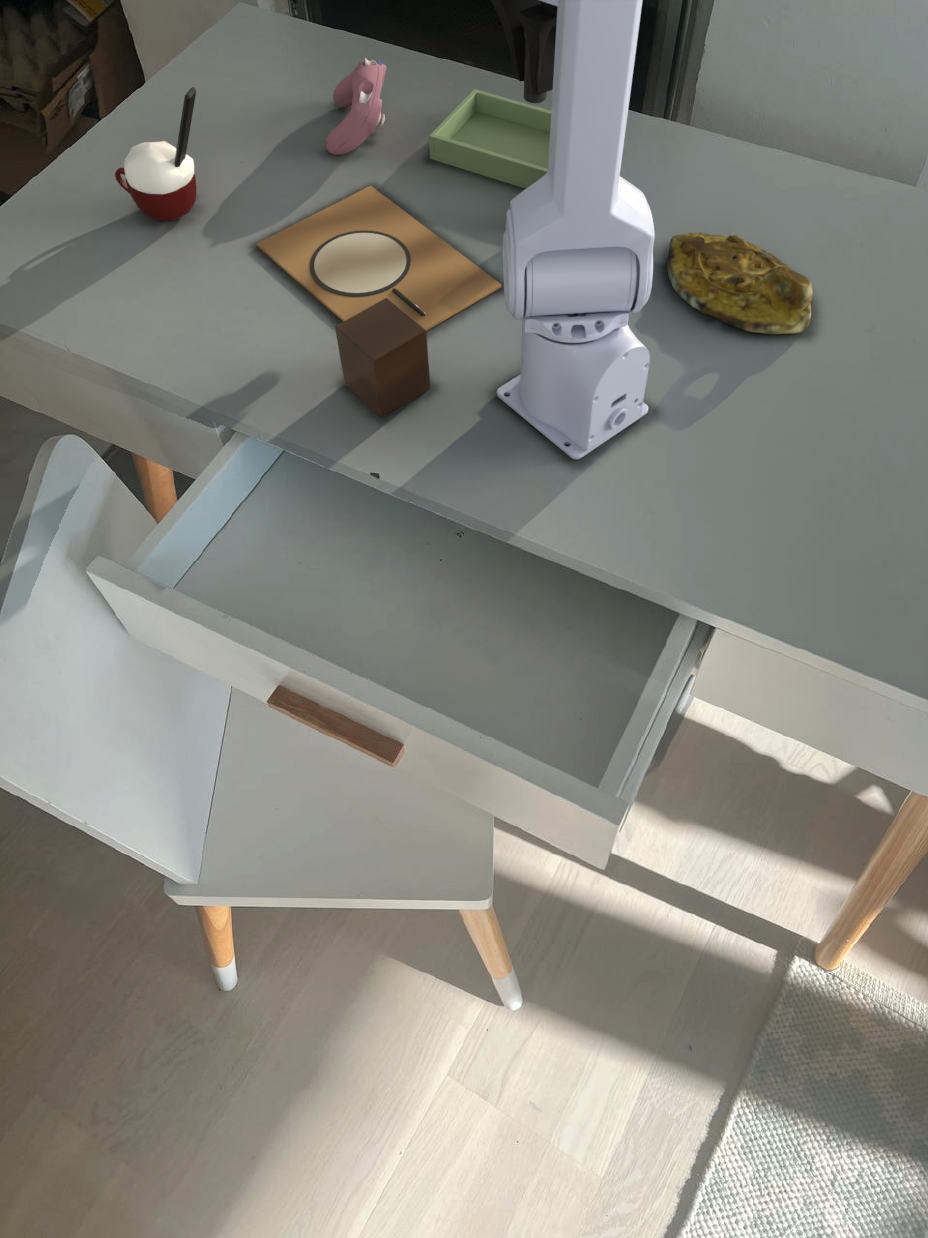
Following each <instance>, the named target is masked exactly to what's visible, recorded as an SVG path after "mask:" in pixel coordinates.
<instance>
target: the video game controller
mask: <svg viewBox="0 0 928 1238" xmlns="http://www.w3.org/2000/svg"><path fill="white" fill-rule="evenodd" d="M386 72H387V65H386V64H384V63H382V62H381V61H378V60H377V61H376V60H375V59H371V60H368V59H367V57H364V60H360V61H359V62H358V63H357V64H356V67H355V68H354V69H353V70H352V71H351V72H350V73H349V74H347V76H345V77H344V78H343V79H341V81H339V82H338V84H336V86H335V88H334V89H333V93H332V99H333V102H334V103H335V104H336V105H337V106H338V107H341V108H348V107H351V108H350V111H349V113H348V114H347V115H346V117H344V119H343V120H342V121H341V122H340V123H339V124H337V126H335V127H334V128H333V129H331V131H330V132H329V134H328V135H327V136H326V139H325V148H326V150H327V152H329V153H330V154H331V155H334V156H339V155H344V154H345V155H346V154H347V153H350V152H352V151H355V149H356V148H358V147H359V146H361V145H362V144H363V143H364V142H365V141H366V140H367V139H368V138H369V137H370V136H372V135H373V133H374V131H375V129H376V127H377V126H378V127H379V128H381V127H382V126H384V124H385V120H386V117H385V113H383V114H382V107H383V99H382V98H380V97H381V91H382V89H383V85H384V81H385V77H386Z"/></svg>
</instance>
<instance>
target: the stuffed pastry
mask: <svg viewBox="0 0 928 1238" xmlns="http://www.w3.org/2000/svg"><path fill="white" fill-rule="evenodd" d="M668 247H669V249H668V255H667V263H666V270H667V275H668V280H669V282H670V284H671V286H672V288H673V289H674V291H675V293H676V294H677V295H678V296H679V297H680V298H681V299H682V300H683V301H685V302H686V303H687V304H688V305H690V306H691V307H692V308H694V309H696V310H697V311H699V312H700V313H701V314H705V315H708V316H709V317H712V318H715V319H717V320H719V321H721V322H723V323H725V324H727V325H730V326H731V327H735V328H738V329H740V330H743V331H746V332H751V333H758V334H765V335H786V334H787V335H788V334H791V335H792V334H800V333H802V332H805V331H806V330H807V329H808V327H809V325H810V322H811V318H812V308H811V307H812V306H811V302H812V300H813V295H814V294H813V293H814V291H813V282H812V281H810V280H809V279H808V277H806V276H805V275H804V274H801V273H799V272H797V271H795V270H794V269H792V268H791V267H790V266H789V265H787V264H786V263H785V262H783V261H782V260H781V259H780V258H778V257H776V256H775V255H774V254H773V253H771V252H769V251H767V250H765V249H763V248H761V247H760V246H758V245H757V244H753V243H752V242H749V241H745V238H744V237H742V236H738V235H736V234H729V236H727V235H721V234H709V233H702V232H686V233H681V234H680V233H679V234H675V235H674V236H672V237H671V238H670V242H669V246H668Z"/></svg>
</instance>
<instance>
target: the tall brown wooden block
mask: <svg viewBox="0 0 928 1238" xmlns="http://www.w3.org/2000/svg"><path fill="white" fill-rule="evenodd" d="M334 329H335V335H336V342H337V348H338V352H339V359H340V364H341V371H342V376H343V382H344V385H345V386H346V387H347V388H348V389H350V391H352V392H353V394H355V395H356V396H357V397H358V398H360V400H361V401H363V402H364V403H365V404H366V405H367V406H368V407H369V409H371V410H372V411H373V412H375V414H377V415H378V416H379V417H380V418H384V417H385V416H387V415H389V414H390V413H392V412H394V411H395V410H397V409H399V408H400V407H402V406H403V405H405V404H407V403H408V402H410V401H412V400H413V399H415V398H417V397H418V396H420V395H421V394H423V393H425V392H426V391H428V390H430V389H431V378H430V377H431V376H430V364H429V350H428V337H427V335H428V334H427V331H426V330H425V329H424V328H423V327H421V326H420V325H419V324H418V323H417V322H415V321H414V320H413V319H412V318H411V317H409V316H408V315H407V314H406V313H405V312H403V311H402V310H401V309H400V308H399V307H397V306H396V305H395V304H394V303H392V302H391V301H390V300H389V299H388V298H385V299H383V300H381V301H379V302H378V303H376V304H374V305H372V306H371V307H369V308H367V309H365V310H363V311H362V312H360V313H358V314H356V315H354V316H353V317H351V318H349V319H347V320H345V321H344V322H343V321H342V322H340V323H338V324H337V325H335V326H334Z"/></svg>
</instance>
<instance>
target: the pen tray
mask: <svg viewBox="0 0 928 1238" xmlns="http://www.w3.org/2000/svg"><path fill="white" fill-rule="evenodd" d="M550 127H551V109H550V110H549V109H546V108H542V107H538V106H535V105H532V104H528V103H525V102H523V101H517V100H515V99H511V98H507V97H504V96H500V95H497V94H493V93H489V92H487V91H483V90H480V89H476V88H474V89H473V90H472V91H471V92H470V93H469V94H468V95H467V96H466V97H465V98H464V99H463V100H462V101H461V102H460V103H459V104H457V106H456V107H455V108H454V109H453V110H452V111H451V112H450V113H449V114H448V115H447V116H446V118H445V119H444V120H442V121H441V123H439V125H438V126H437V127H435V129H434V130H433V131H432V132H431V133H430V134H429V135H428V141H429V142H428V144H429V145H428V146H429V159H430V160H433V161H435V162H439V163H443V164H445V165H448V166H452V167H456V168H459V169H462V170H465V171H468V172H471V173H473V174H474V173H475V174H477V175H481V176H484V177H487V178H490V179H493V180H496V181H500V182H503V183H507V184H508V185H513V186H515V187H519V188H522V189H524V190H525V189H526V188H528V187H529V186H531V185H532V184H533V183H535V182H536V181H538V180H539V179H540V178H542V177H543V176H544V175H545V174H546V173H547V172H548V161H549V144H550Z"/></svg>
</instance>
